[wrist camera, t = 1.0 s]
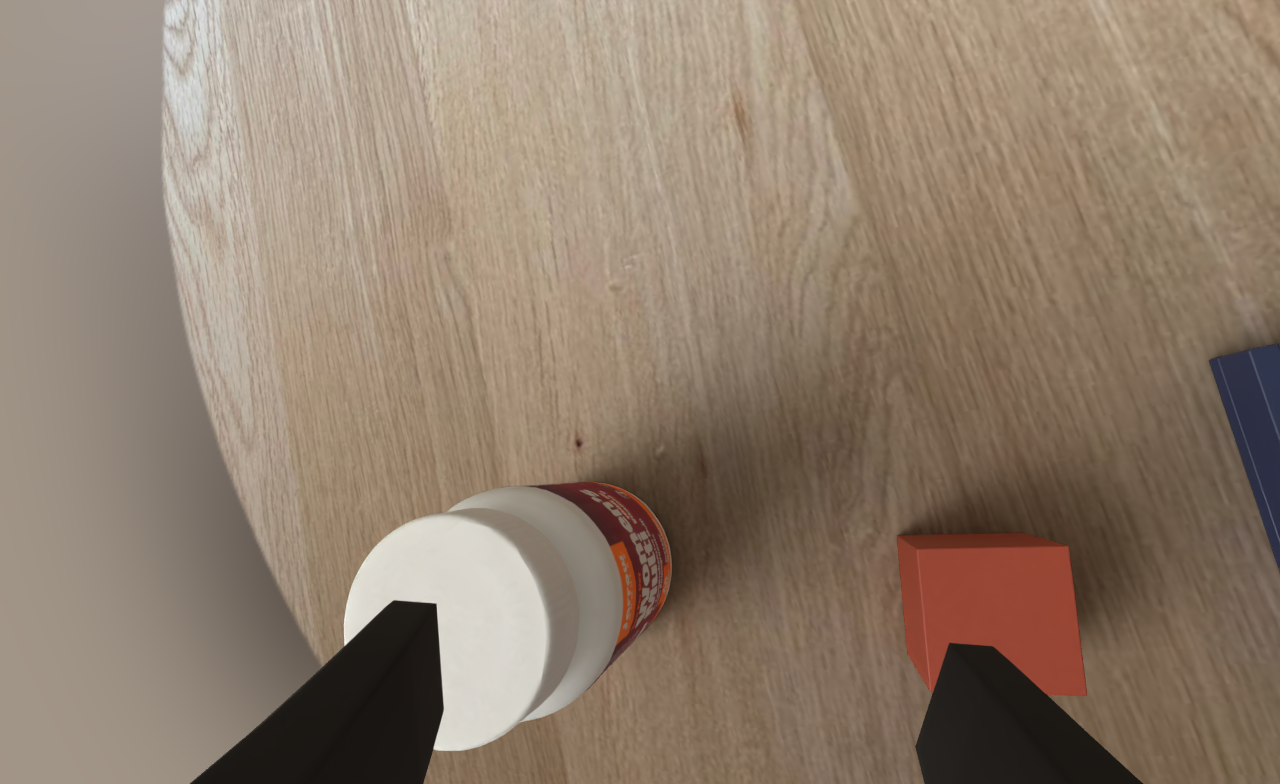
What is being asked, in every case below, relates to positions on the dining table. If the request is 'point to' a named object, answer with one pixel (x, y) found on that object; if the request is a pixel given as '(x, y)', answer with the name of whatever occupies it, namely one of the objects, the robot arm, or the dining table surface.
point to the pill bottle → (521, 596)
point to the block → (993, 604)
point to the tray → (1256, 424)
